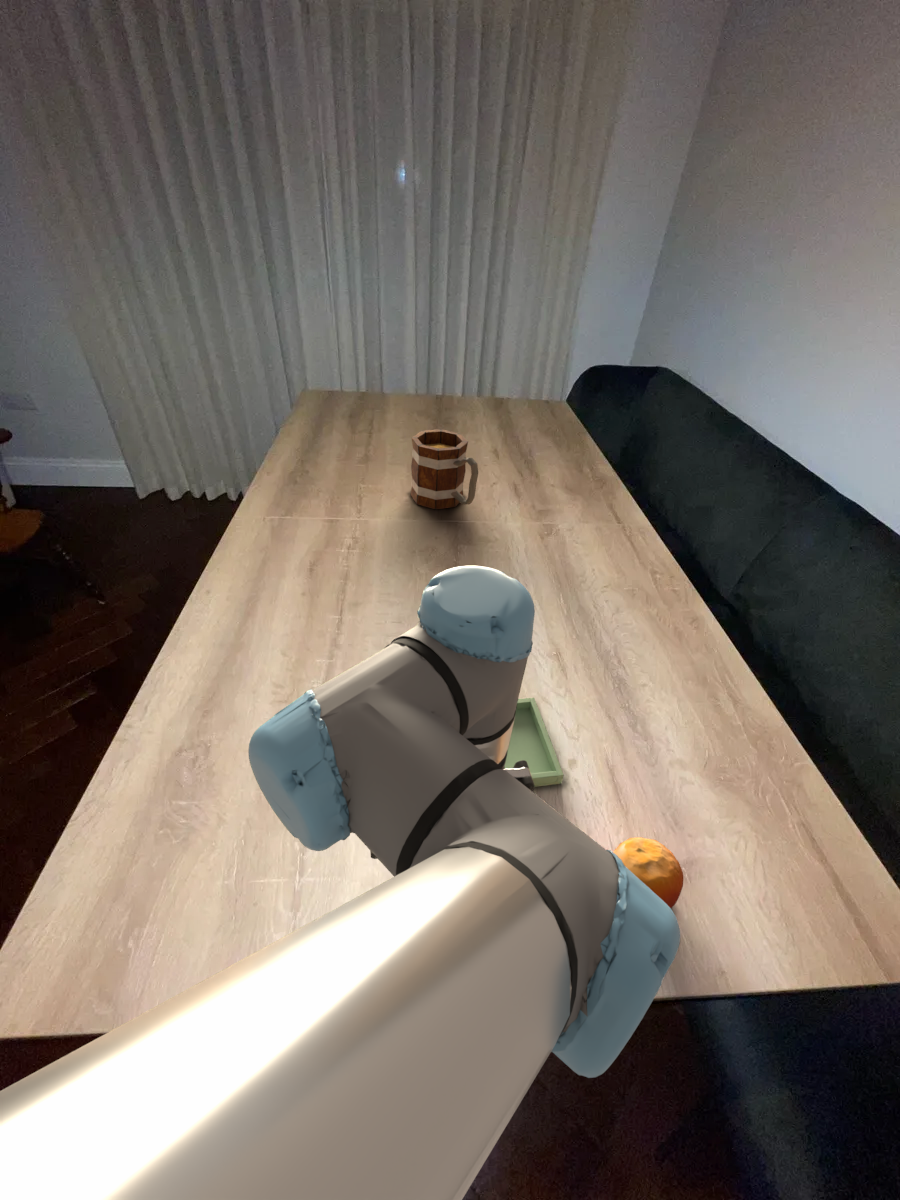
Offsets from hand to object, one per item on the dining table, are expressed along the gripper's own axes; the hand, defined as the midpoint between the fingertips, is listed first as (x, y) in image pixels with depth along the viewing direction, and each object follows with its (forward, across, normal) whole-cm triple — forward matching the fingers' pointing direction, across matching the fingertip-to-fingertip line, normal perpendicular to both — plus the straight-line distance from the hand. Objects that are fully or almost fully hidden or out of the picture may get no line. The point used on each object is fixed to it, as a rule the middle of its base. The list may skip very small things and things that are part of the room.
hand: (446, 869), depth 57 cm
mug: (+5, +15, +92) cm, 93 cm away
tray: (+5, +10, +18) cm, 21 cm away
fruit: (+5, +22, -3) cm, 23 cm away
